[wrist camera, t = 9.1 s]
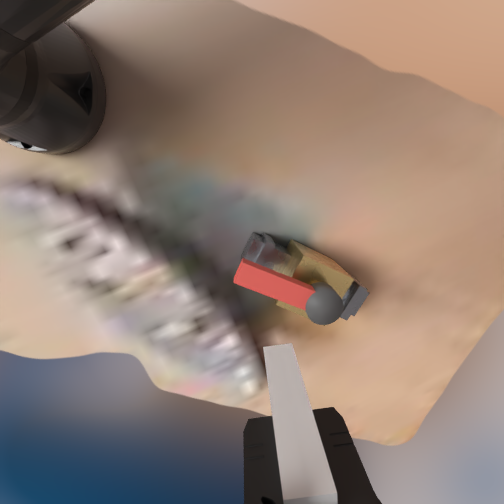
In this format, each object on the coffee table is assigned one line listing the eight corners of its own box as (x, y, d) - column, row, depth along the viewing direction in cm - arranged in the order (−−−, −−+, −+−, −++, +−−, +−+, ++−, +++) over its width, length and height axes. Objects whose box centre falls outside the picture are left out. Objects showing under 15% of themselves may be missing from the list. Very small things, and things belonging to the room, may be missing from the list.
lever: (341, 289, 30) (350, 299, 27) (325, 318, 30) (332, 329, 28) (245, 250, 28) (246, 256, 25) (231, 282, 29) (230, 291, 26)
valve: (236, 264, 38) (234, 292, 29) (257, 223, 37) (262, 238, 28) (338, 310, 41) (366, 348, 32) (362, 273, 39) (398, 302, 30)
